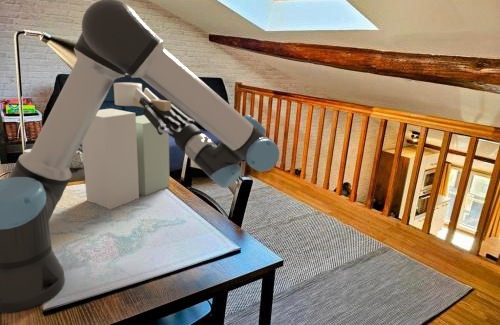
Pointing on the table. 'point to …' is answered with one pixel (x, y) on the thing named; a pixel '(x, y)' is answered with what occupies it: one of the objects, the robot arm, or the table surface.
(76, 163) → the game die
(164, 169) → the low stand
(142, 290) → the table surface
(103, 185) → the tall stand
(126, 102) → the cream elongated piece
